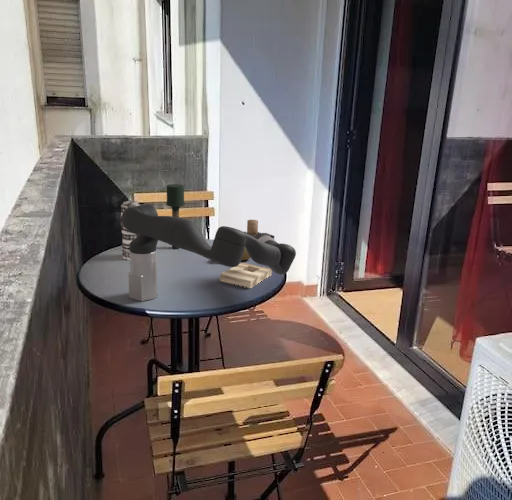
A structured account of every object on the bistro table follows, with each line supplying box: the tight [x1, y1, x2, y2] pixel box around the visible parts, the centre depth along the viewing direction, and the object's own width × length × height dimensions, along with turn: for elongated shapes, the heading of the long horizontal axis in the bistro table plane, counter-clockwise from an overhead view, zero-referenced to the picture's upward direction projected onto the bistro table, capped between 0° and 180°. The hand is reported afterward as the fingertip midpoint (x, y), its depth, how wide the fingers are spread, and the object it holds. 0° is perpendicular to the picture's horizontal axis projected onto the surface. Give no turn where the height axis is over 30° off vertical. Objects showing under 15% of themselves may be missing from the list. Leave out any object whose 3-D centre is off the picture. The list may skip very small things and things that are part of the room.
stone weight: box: [240, 248, 252, 262], centre depth 217 cm, size 15×7×7 cm, turn 114°
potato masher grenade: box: [165, 183, 186, 250], centre depth 228 cm, size 8×9×30 cm
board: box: [219, 262, 273, 289], centre depth 197 cm, size 17×14×3 cm
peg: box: [246, 219, 259, 256], centre depth 195 cm, size 4×4×14 cm
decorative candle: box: [119, 200, 140, 261], centre depth 214 cm, size 9×9×25 cm
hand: (250, 233), depth 198 cm, fingers closed on peg, 4 cm apart
